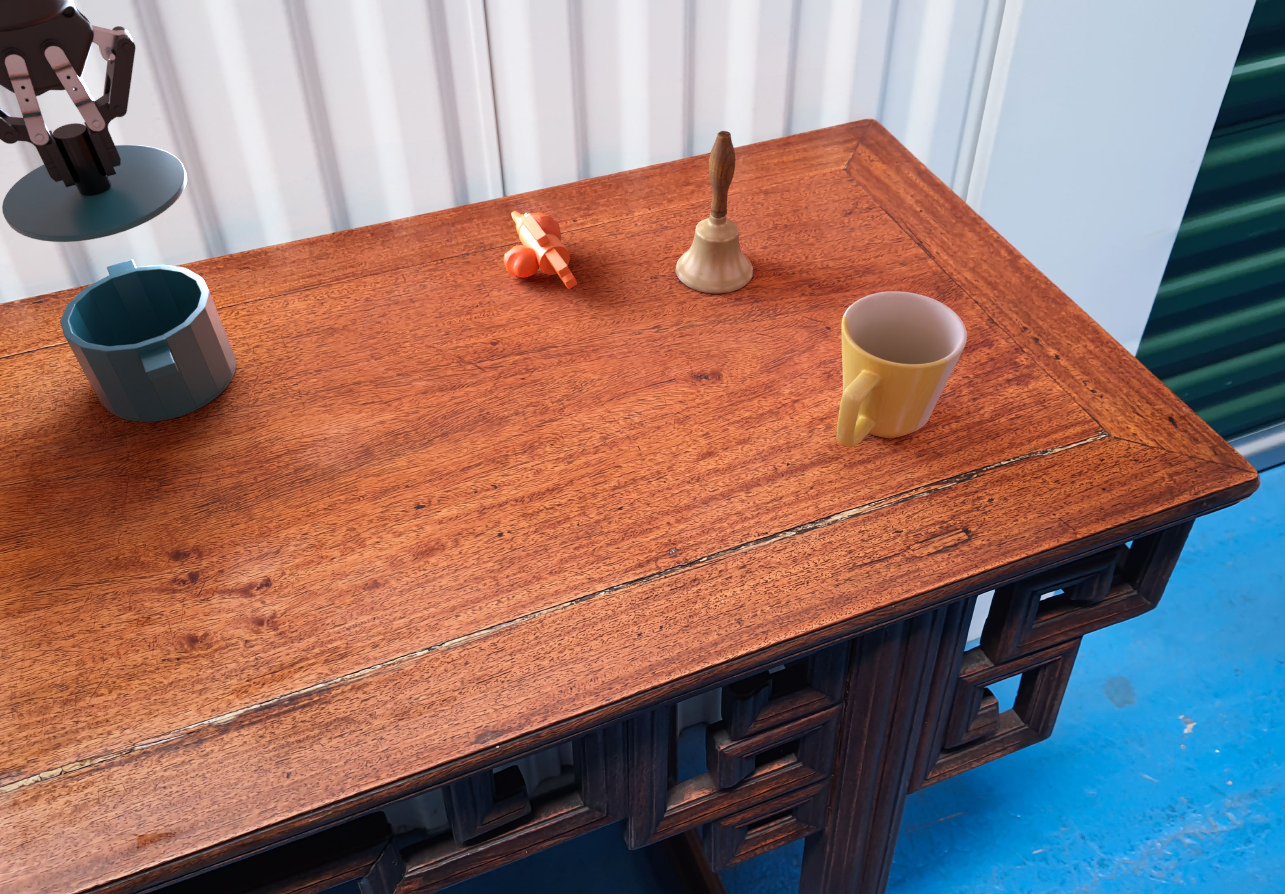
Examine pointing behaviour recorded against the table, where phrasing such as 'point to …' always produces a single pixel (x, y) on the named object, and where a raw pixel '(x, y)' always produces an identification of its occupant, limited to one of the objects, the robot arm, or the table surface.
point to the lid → (93, 191)
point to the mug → (895, 363)
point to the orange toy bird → (539, 248)
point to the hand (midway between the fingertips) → (89, 175)
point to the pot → (150, 341)
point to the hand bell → (716, 234)
